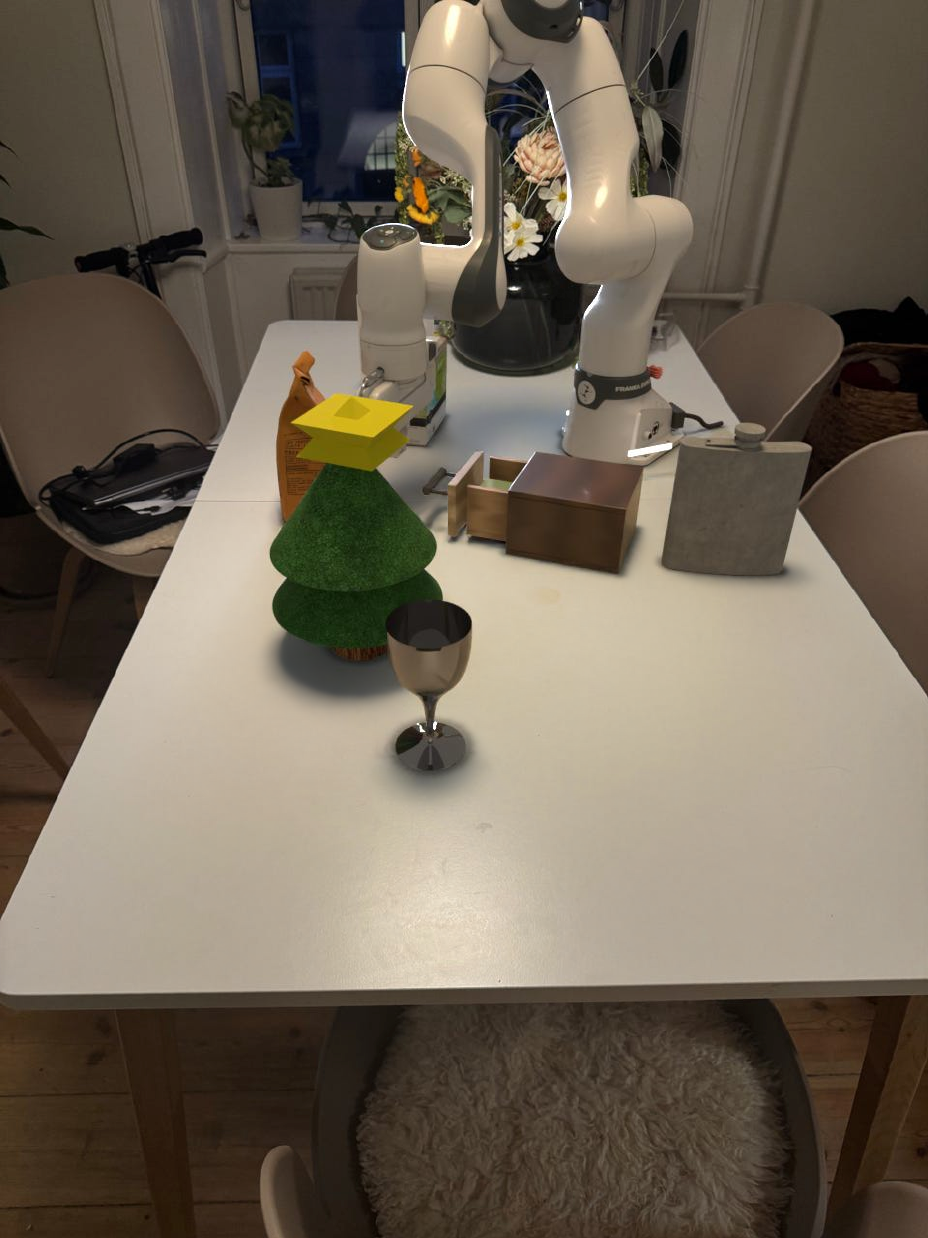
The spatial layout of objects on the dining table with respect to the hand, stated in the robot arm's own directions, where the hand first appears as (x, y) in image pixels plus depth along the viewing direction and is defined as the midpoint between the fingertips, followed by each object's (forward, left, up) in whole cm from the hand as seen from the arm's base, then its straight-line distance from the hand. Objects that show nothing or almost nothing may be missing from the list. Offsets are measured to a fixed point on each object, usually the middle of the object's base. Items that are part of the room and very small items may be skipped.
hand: (396, 453), depth 126 cm
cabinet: (-13, +23, -9) cm, 28 cm away
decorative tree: (+24, +24, -9) cm, 35 cm away
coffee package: (+9, -9, -9) cm, 16 cm away
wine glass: (+29, +43, -9) cm, 53 cm away
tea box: (-21, -24, -9) cm, 33 cm away
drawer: (-7, +13, -8) cm, 17 cm away
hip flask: (-23, +41, -9) cm, 48 cm away
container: (-32, -42, -9) cm, 53 cm away
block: (-7, +13, -7) cm, 17 cm away
